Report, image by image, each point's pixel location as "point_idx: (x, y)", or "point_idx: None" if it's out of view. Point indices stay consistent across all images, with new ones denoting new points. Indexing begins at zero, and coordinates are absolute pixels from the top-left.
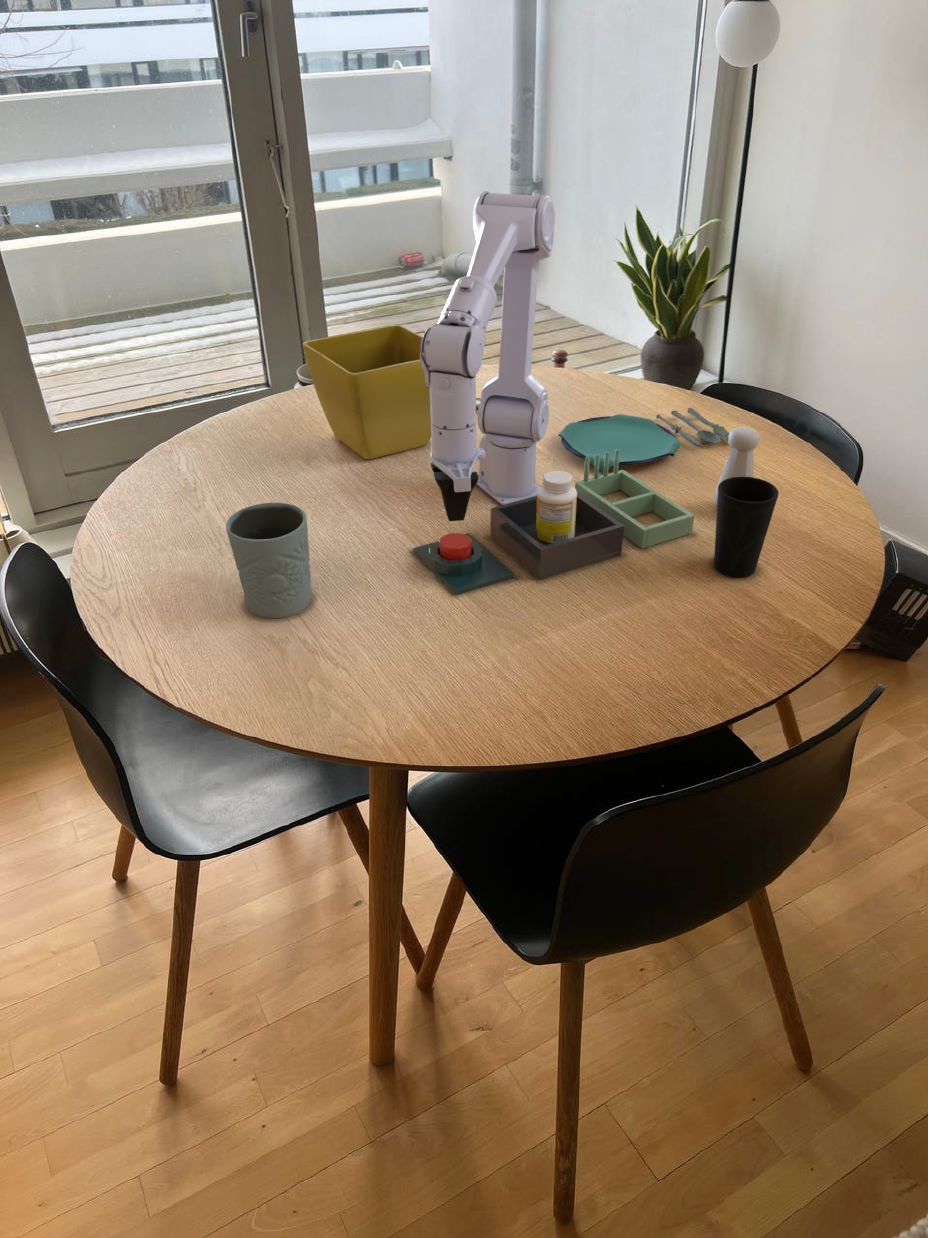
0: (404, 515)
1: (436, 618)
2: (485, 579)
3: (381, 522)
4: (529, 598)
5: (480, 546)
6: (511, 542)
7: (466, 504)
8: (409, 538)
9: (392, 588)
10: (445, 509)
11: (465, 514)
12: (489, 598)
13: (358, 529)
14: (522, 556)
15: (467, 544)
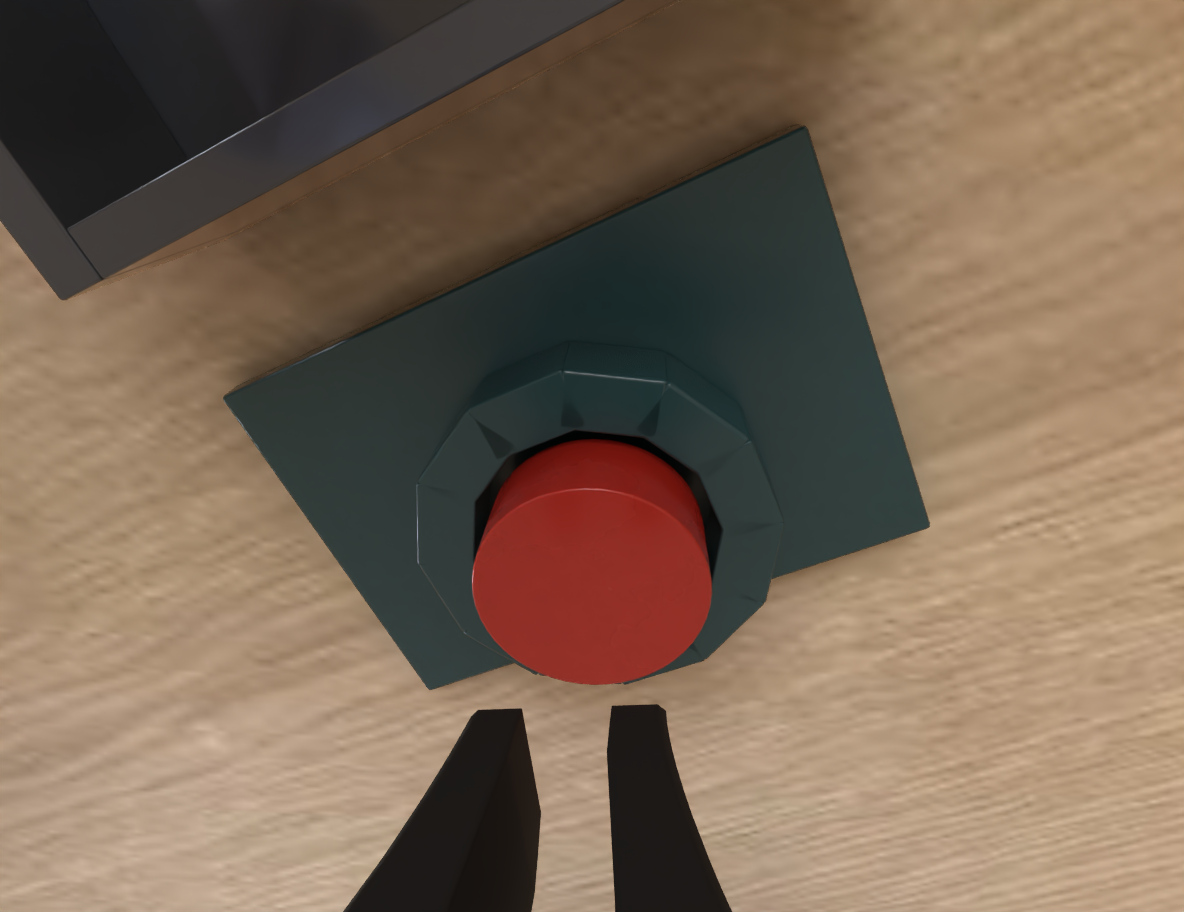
0: (52, 686)
1: (1111, 614)
2: (843, 344)
3: (150, 776)
4: (1111, 25)
5: (543, 381)
6: (454, 110)
7: (707, 868)
8: (293, 679)
9: (772, 765)
10: (533, 874)
11: (660, 739)
12: (1011, 323)
13: (234, 853)
14: (628, 22)
15: (655, 522)
